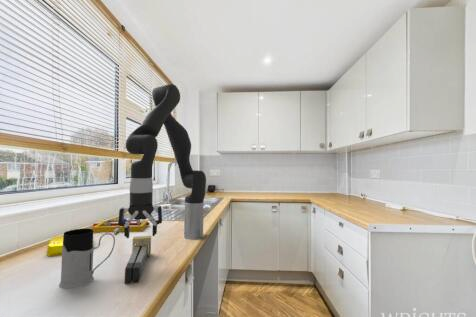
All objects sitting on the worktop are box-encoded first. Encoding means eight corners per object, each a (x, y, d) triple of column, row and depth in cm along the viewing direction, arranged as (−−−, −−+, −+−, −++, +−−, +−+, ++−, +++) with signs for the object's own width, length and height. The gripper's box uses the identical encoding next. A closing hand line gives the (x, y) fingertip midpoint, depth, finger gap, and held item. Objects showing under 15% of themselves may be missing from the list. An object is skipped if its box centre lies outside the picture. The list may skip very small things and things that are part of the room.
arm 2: (142, 258, 90) (142, 246, 90) (147, 257, 91) (147, 245, 91) (132, 283, 71) (132, 267, 71) (138, 282, 71) (139, 267, 71)
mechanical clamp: (95, 216, 136) (150, 215, 141) (95, 227, 136) (149, 226, 141) (79, 223, 118) (142, 222, 123) (78, 236, 118) (142, 234, 123)
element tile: (92, 241, 111) (92, 231, 111) (92, 251, 98) (92, 239, 98) (51, 246, 103) (52, 235, 103) (45, 258, 90) (46, 245, 91)
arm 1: (134, 258, 90) (134, 246, 90) (139, 258, 90) (140, 246, 90) (124, 284, 70) (125, 268, 70) (131, 283, 71) (131, 267, 71)
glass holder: (63, 278, 74) (65, 229, 74) (114, 270, 79) (116, 225, 80) (54, 292, 66) (57, 237, 66) (112, 282, 71) (114, 232, 72)
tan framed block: (133, 255, 93) (133, 236, 93) (150, 253, 94) (151, 235, 95) (132, 257, 90) (132, 238, 90) (150, 256, 92) (150, 237, 92)
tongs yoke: (135, 255, 93) (136, 243, 93) (148, 254, 94) (148, 242, 94) (134, 258, 90) (134, 246, 90) (147, 257, 91) (147, 245, 92)
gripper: (162, 189, 90) (162, 232, 90) (121, 190, 86) (120, 235, 86) (162, 191, 83) (161, 238, 83) (117, 192, 79) (116, 241, 79)
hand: (140, 236), depth 84 cm, fingers open, 8 cm apart
